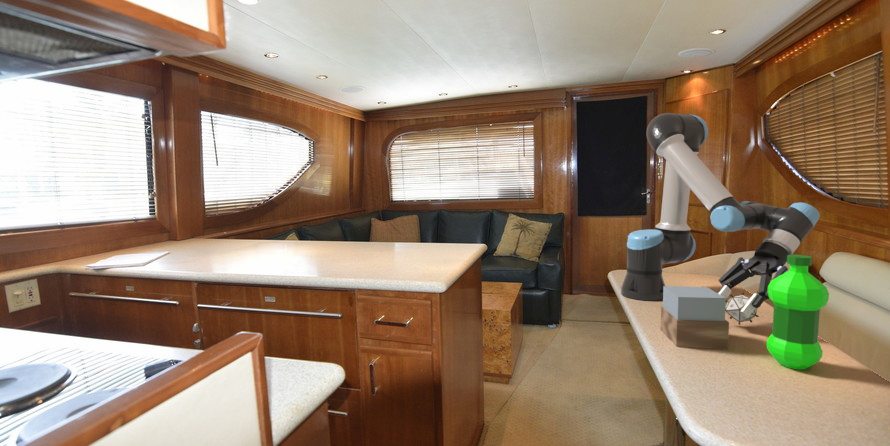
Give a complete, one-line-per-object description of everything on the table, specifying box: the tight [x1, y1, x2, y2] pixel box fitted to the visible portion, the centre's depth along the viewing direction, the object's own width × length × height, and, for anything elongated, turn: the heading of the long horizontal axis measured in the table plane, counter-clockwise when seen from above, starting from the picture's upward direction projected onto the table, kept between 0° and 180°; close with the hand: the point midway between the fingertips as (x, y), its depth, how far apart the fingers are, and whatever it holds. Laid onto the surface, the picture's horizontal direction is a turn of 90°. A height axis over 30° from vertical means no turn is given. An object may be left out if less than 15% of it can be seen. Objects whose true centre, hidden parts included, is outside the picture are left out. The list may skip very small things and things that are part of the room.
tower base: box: [660, 306, 730, 350], centre depth 114 cm, size 12×12×7 cm
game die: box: [725, 292, 760, 326], centre depth 120 cm, size 9×8×10 cm
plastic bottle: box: [766, 254, 830, 370], centre depth 97 cm, size 10×10×25 cm
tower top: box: [662, 285, 727, 322], centre depth 114 cm, size 11×11×6 cm
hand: (729, 309), depth 120 cm, fingers closed on game die, 8 cm apart
